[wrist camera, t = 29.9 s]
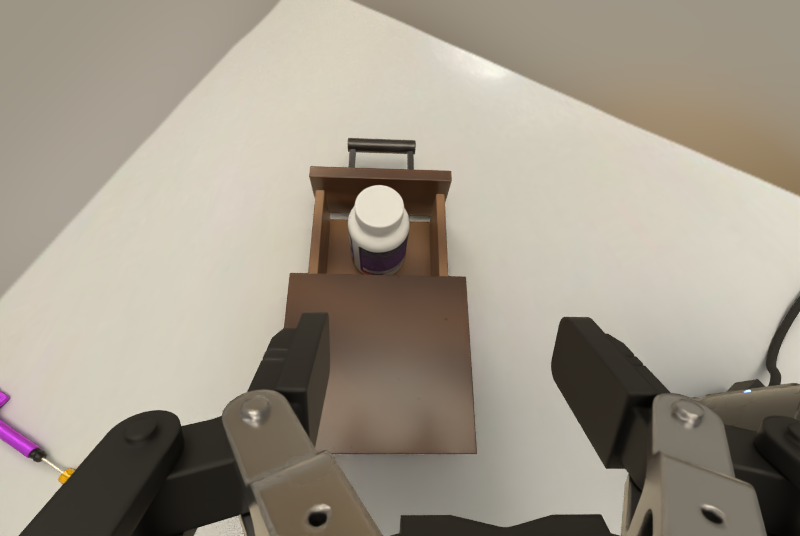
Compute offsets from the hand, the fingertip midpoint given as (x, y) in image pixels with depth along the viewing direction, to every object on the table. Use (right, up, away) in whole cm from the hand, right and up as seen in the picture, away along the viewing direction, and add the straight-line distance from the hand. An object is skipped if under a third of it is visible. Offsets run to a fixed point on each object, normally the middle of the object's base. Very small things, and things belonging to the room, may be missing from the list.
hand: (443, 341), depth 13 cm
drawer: (-3, +6, +32) cm, 33 cm away
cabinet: (-4, -8, +27) cm, 29 cm away
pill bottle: (-4, +3, +30) cm, 30 cm away
